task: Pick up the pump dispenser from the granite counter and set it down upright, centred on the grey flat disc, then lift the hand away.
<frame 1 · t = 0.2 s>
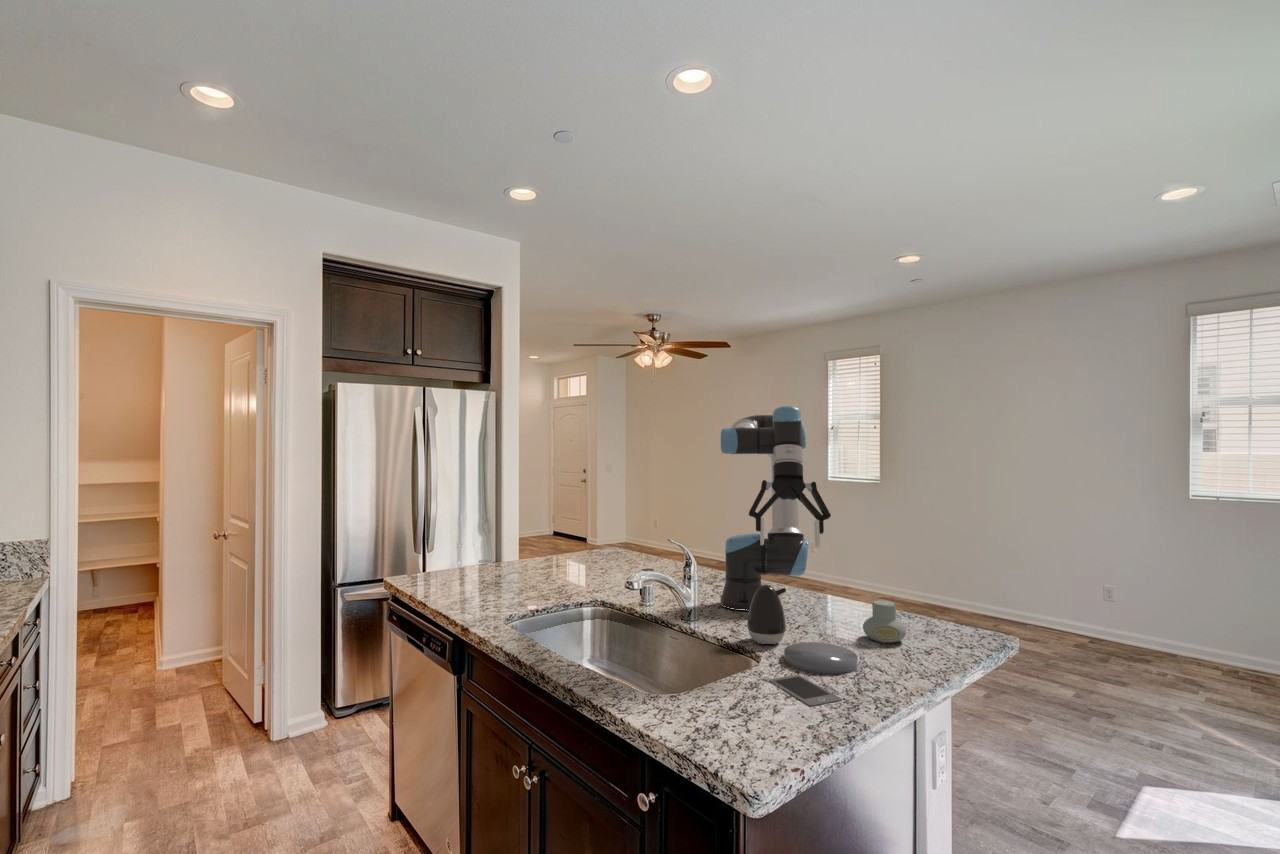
hand: (789, 545, 153), 27 cm above the worktop, tool tilted 15°, fingers open, 13 cm apart
smartphone: (803, 693, 131), on the worktop
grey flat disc: (820, 661, 148), on the worktop
pump dispenser: (767, 642, 163), on the worktop
air freshener: (884, 641, 165), on the worktop
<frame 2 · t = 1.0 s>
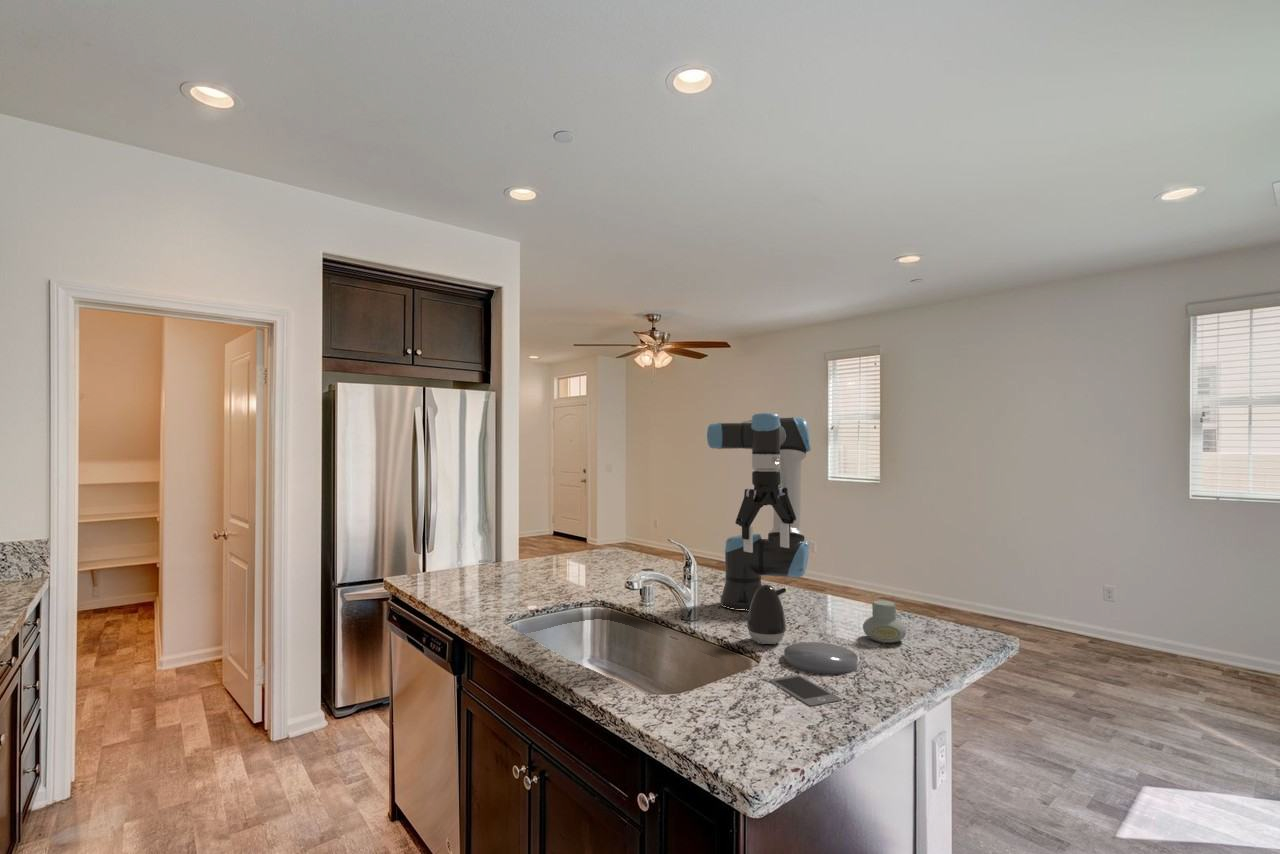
hand: (766, 549, 164), 25 cm above the worktop, tool pointing down, fingers open, 13 cm apart
nothing on the worktop moved.
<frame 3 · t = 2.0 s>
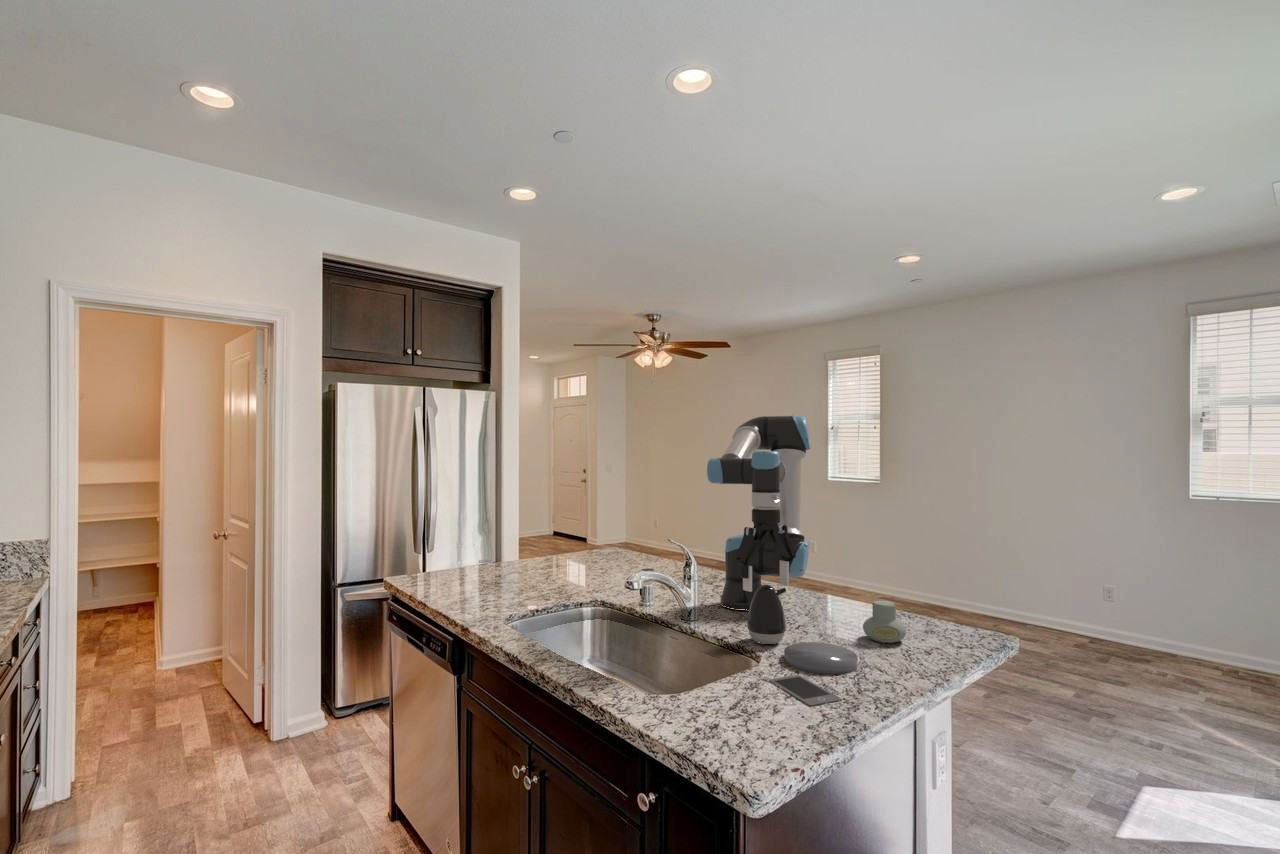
hand: (766, 587, 163), 14 cm above the worktop, tool pointing down, fingers open, 13 cm apart
nothing on the worktop moved.
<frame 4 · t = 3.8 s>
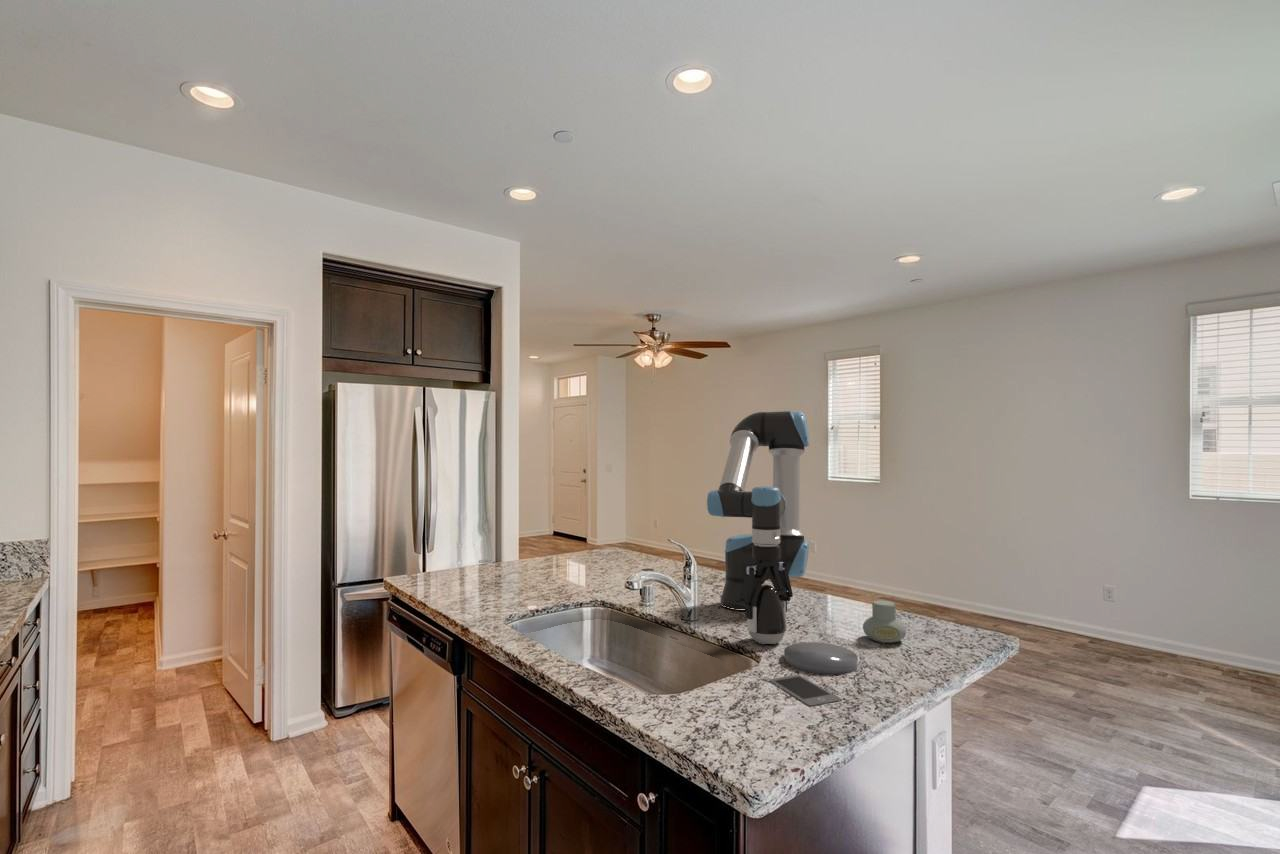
hand: (766, 627, 163), 4 cm above the worktop, tool pointing down, fingers closed on pump dispenser, 10 cm apart
pump dispenser: (767, 642, 163), on the worktop, touching gripper
everything else where it was.
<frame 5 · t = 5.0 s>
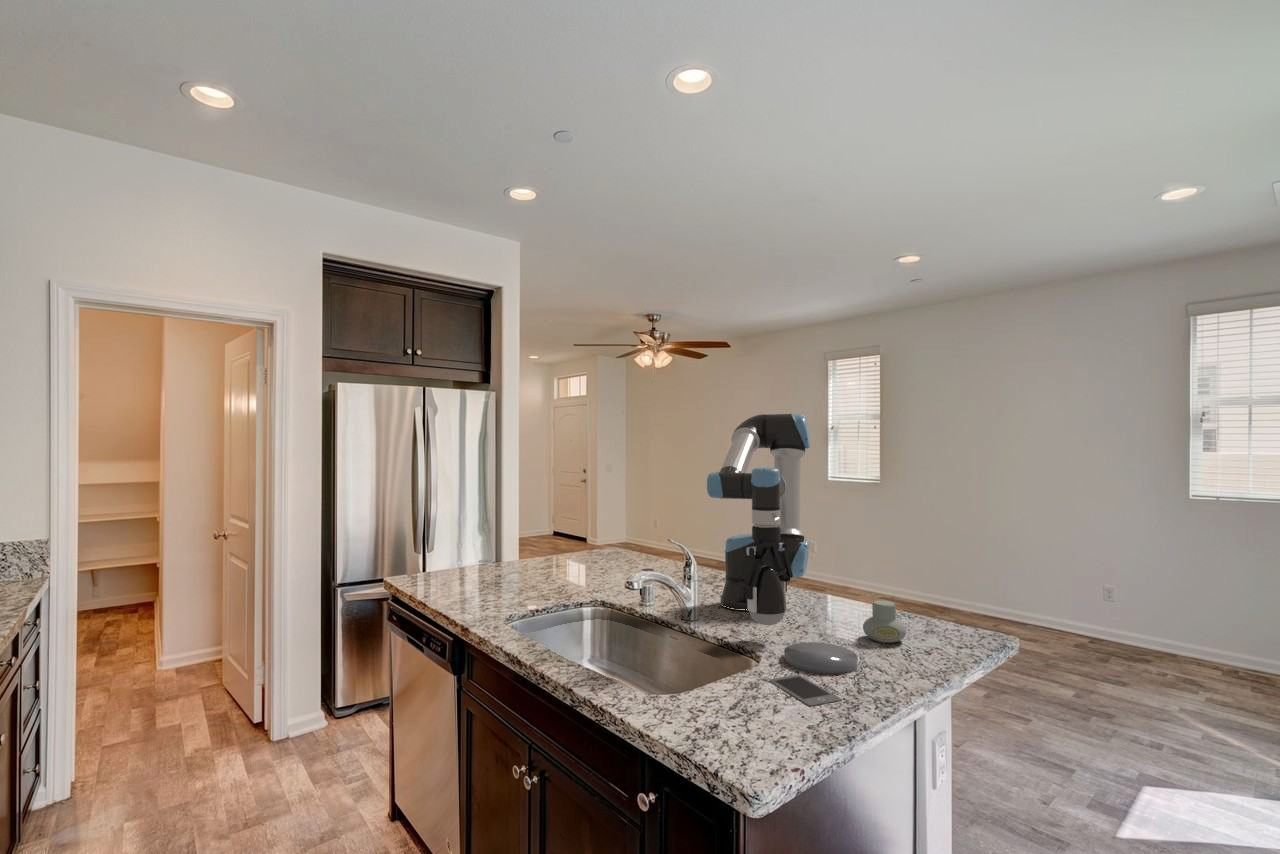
hand: (767, 608, 164), 9 cm above the worktop, tool pointing down, fingers closed on pump dispenser, 10 cm apart
pump dispenser: (767, 623, 164), point 5 cm above the worktop, touching gripper
everything else where it was.
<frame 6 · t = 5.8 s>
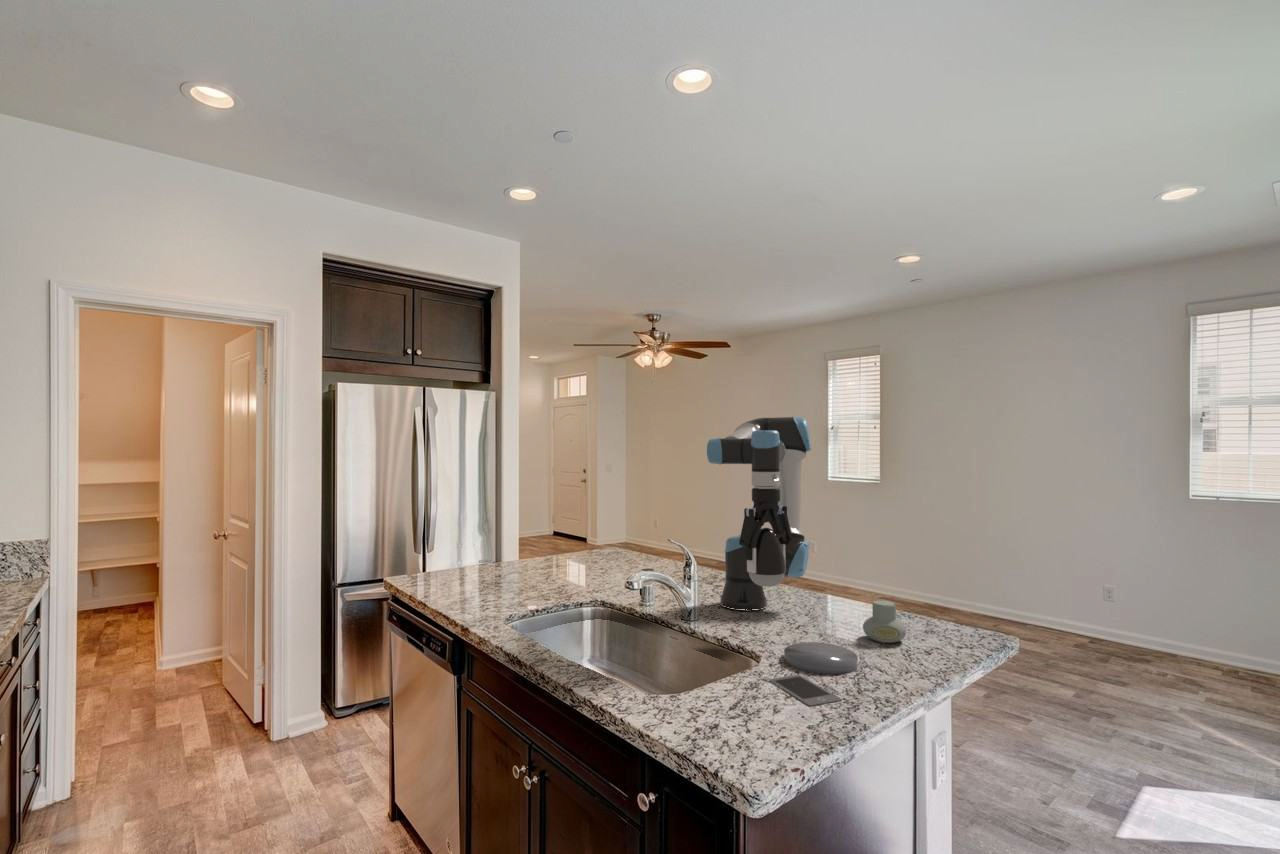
hand: (766, 570, 164), 19 cm above the worktop, tool pointing down, fingers closed on pump dispenser, 10 cm apart
pump dispenser: (767, 585, 164), point 15 cm above the worktop, touching gripper
everything else where it was.
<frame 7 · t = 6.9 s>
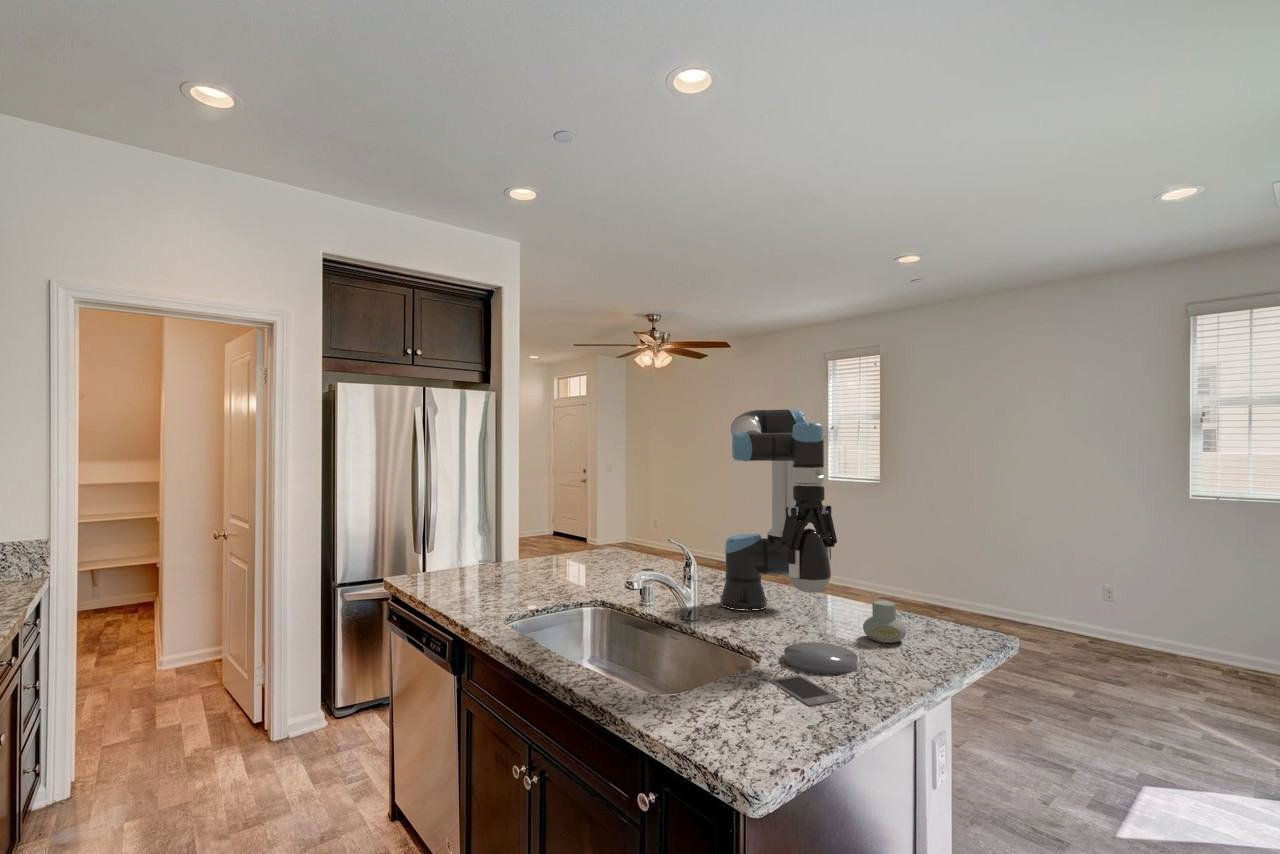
hand: (809, 574, 151), 20 cm above the worktop, tool pointing down, fingers closed on pump dispenser, 10 cm apart
pump dispenser: (810, 591, 151), point 17 cm above the worktop, touching gripper
everything else where it was.
when the fingers open (7 cm above the worktop, at t = 10.5 s): pump dispenser drops 1 cm, resting on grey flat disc.
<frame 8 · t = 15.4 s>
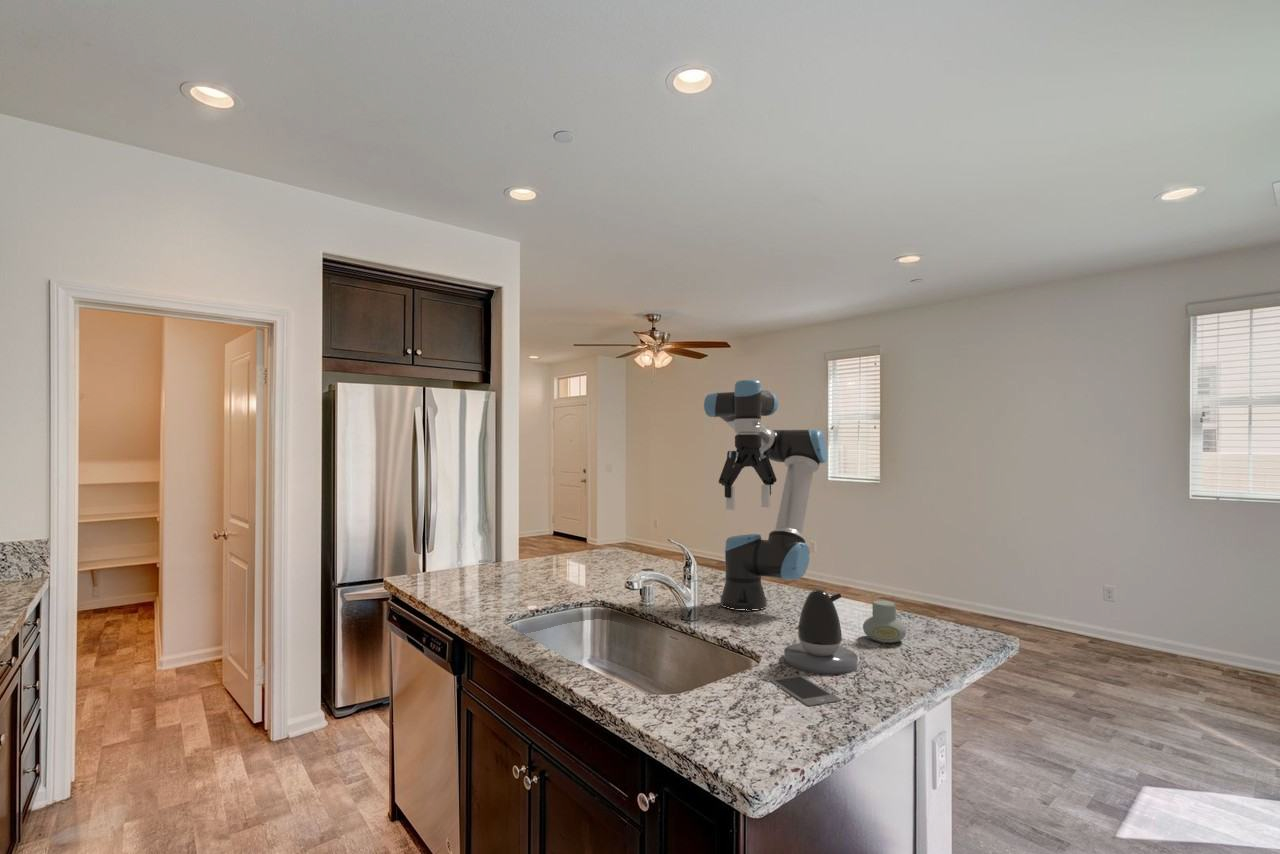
hand: (748, 508, 175), 35 cm above the worktop, tool pointing down, fingers open, 13 cm apart
pump dispenser: (820, 653, 148), point 2 cm above the worktop, touching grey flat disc
everything else where it was.
at the end: pump dispenser 0.1 cm off-centre on the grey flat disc, point 1.8 cm above the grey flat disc's base; pump dispenser tilted 0°; the gripper is holding nothing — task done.
